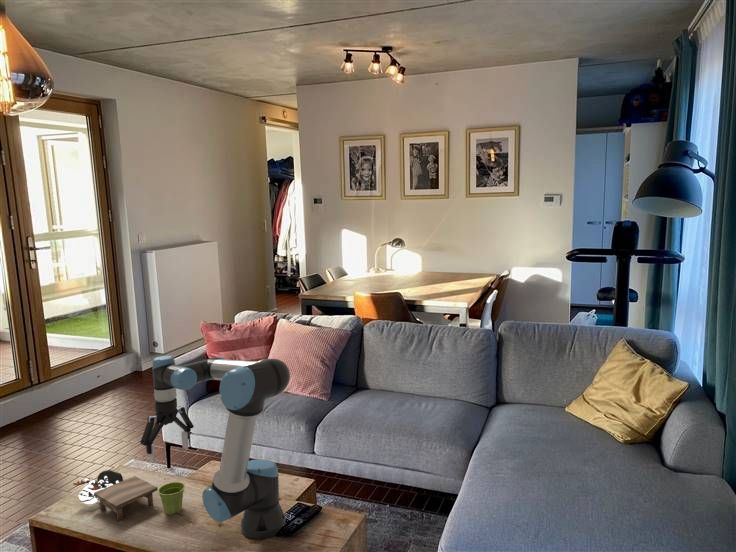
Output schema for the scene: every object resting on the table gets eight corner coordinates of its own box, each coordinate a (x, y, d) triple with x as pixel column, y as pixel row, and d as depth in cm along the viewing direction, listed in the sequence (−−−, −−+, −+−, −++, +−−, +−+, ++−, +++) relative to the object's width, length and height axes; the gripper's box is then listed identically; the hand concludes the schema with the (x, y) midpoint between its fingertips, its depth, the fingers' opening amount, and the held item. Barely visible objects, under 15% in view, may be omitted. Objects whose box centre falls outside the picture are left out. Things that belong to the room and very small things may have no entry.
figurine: (131, 472, 215) (95, 485, 198) (129, 496, 215) (92, 511, 198) (105, 465, 220) (67, 478, 203) (102, 489, 220) (64, 503, 203)
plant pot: (177, 518, 193) (176, 495, 192) (154, 516, 195) (152, 493, 194) (191, 504, 202) (189, 483, 201) (168, 502, 204) (167, 481, 203)
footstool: (158, 504, 202) (157, 487, 202) (117, 524, 190) (115, 505, 189) (135, 492, 212) (134, 475, 211) (95, 510, 199) (93, 492, 199)
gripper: (189, 388, 206) (192, 441, 208) (127, 406, 186) (131, 464, 189) (201, 391, 202) (204, 445, 204) (139, 410, 182) (143, 470, 184)
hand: (169, 454), depth 196 cm, fingers open, 13 cm apart
